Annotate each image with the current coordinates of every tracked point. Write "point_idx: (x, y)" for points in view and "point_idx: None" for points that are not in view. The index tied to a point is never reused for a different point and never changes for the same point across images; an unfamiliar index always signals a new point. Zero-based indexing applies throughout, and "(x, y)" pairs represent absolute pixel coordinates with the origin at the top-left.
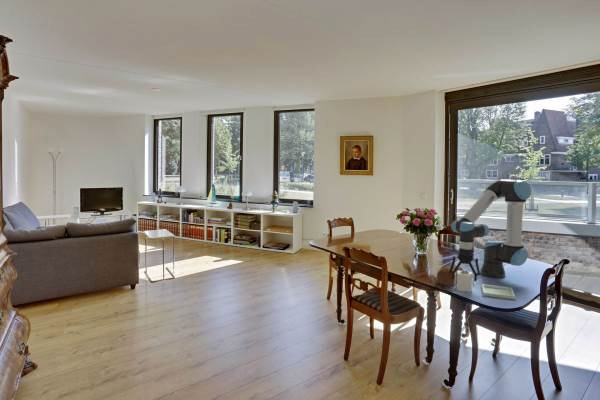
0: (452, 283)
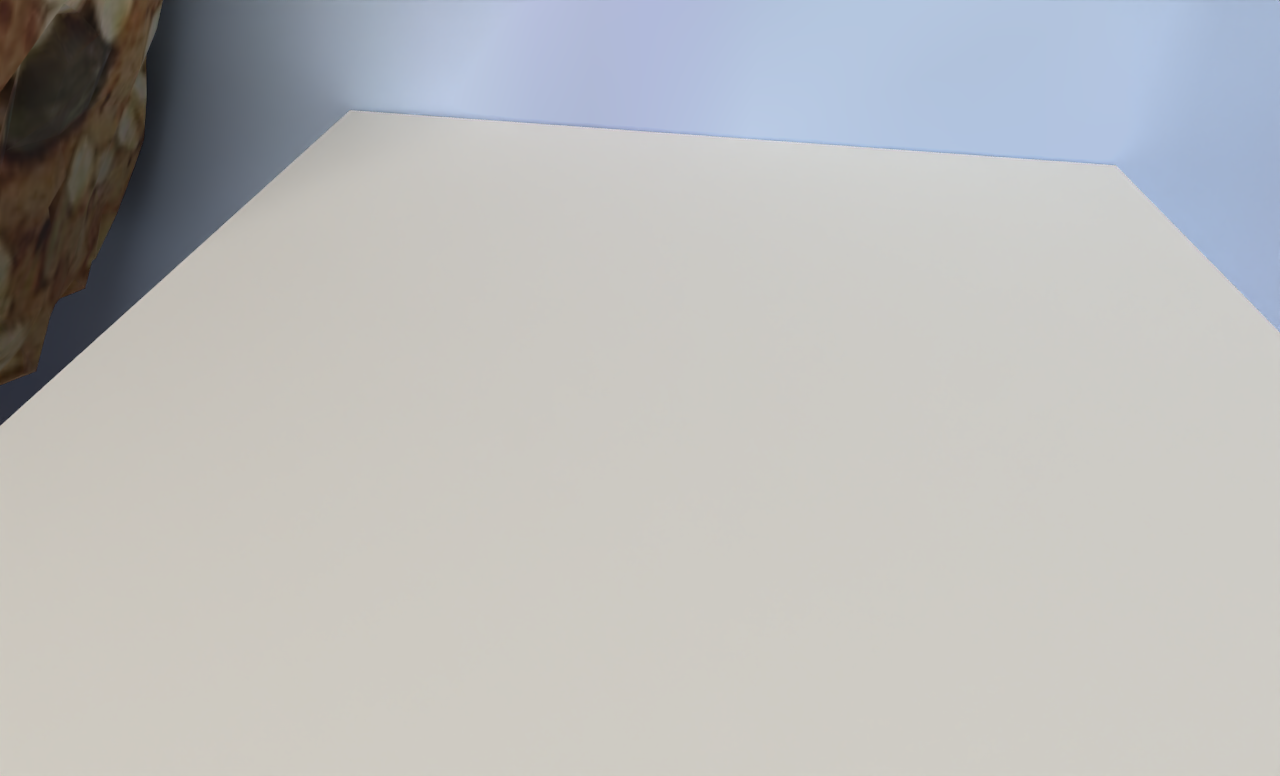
0: (55, 300)
